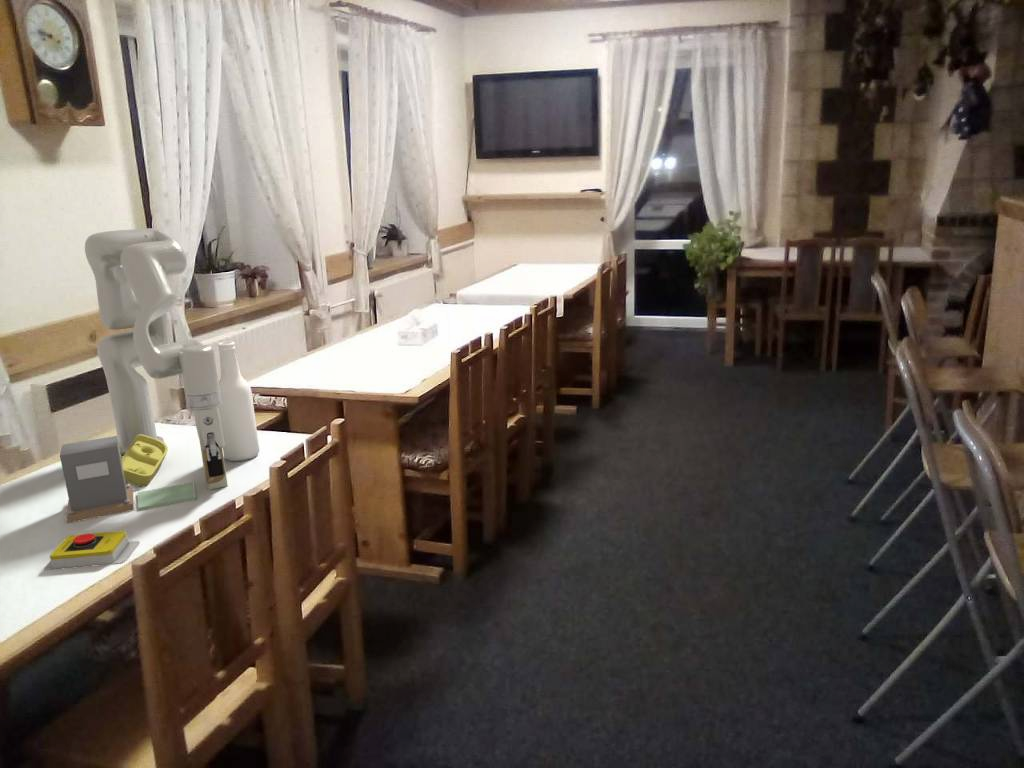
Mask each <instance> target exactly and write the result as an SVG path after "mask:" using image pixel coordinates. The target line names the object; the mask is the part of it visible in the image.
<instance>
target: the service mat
mask: <svg viewBox="0 0 1024 768" xmlns="http://www.w3.org/2000/svg"><path fill="white" fill-rule="evenodd" d="M195 489H196V488H195V485H194V482H193V481H190V482H184V483H179V484H174V485H170V486H164V487H159V488H153V489H149V490H143V491H139V492H137V507H138V508H137V509H138V511H143V510H147V509H152V508H157V507H163V506H168V505H172V504H173V505H174V504H177V503H183V502H184V503H185V502H188V501H194V500H197V493H196V490H195Z"/></svg>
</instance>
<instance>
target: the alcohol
mask: <svg viewBox="0 0 1024 768" xmlns="http://www.w3.org/2000/svg"><path fill="white" fill-rule="evenodd" d="M235 344H236V343H235V342H234V341H231V340H230V341H221V342H219V343H218V344H217V346H218V348H217V349H218V351H219V362H220V363H219V365H220V377H219V378H220V380H219V387H220V394H221V401H222V404H221V405H219V406H218V410H219V415H220V420H221V426H222V433H223V439H224V444H225V446H224V448H222V449H223V457H224V459H226V460H227V461H229V460H230V461H229V462H243V460H245V461H249V460H252V459H254V458H256V457H257V456H258V455H259V453H260V444H259V437H258V431H257V429H258V428H257V422H256V421H257V420H256V417H255V409H254V401H253V399H254V398H253V394H252V388H251V386H250V383H249V382H248V381H247V380H246V378H245V379H244V378H243V376H242V374H241V370H240V366H239V362H238V358H237V354H236V346H235ZM255 456H256V457H255ZM253 457H254V458H253ZM251 458H252V459H251ZM248 459H249V460H248Z"/></svg>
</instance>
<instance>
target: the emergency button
mask: <svg viewBox="0 0 1024 768" xmlns="http://www.w3.org/2000/svg"><path fill="white" fill-rule="evenodd" d="M139 545H140V541H139V540H131V541H130V540H129V538H128V536H127V532H126V531H125V530H117V531H106V532H94V533H93V532H92V533H82V534H72V535H71V534H70V535H68V536H66V537H65V538H64V540H63V541H61V543H60V544H59V545H58V546H57V547H55V549H54V550H53V551H52V552H51V553H50V554H49V559H50V560H49V562H48V563H46V565H45V566H44V567H43V570H44V571H53V570H54V569H55V570H63V569H62V568H66V569H74V568H73V567H77V568H85V567H84V566H88V567H93V566H92V565H99V566H108V565H107V564H111V565H119V564H118V563H120V564H123V562H124V563H126V562H127V561H128V560H129V558H130V557H131V556H132V554H133V553H134V552H135V550H136V549H137V548H138V546H139ZM127 559H128V560H127ZM125 561H126V562H125ZM55 570H54V571H55Z"/></svg>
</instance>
